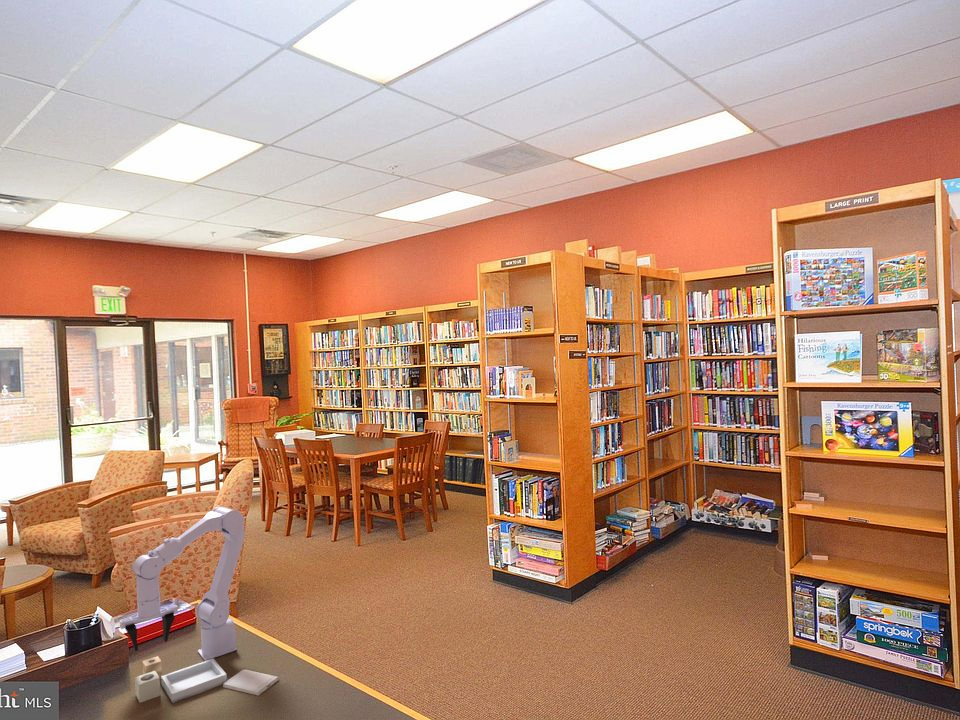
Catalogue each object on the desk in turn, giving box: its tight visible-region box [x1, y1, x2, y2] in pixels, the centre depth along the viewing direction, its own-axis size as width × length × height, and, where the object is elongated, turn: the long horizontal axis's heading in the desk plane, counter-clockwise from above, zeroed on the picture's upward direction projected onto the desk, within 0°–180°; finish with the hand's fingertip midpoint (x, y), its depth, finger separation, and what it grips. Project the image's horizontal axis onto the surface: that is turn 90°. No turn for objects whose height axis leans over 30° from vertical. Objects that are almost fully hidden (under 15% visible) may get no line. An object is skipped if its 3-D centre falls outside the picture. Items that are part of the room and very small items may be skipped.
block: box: [141, 655, 163, 680], centre depth 175 cm, size 4×4×5 cm
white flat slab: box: [222, 668, 280, 696], centre depth 170 cm, size 2×8×12 cm
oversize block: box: [134, 671, 161, 704], centre depth 166 cm, size 5×5×5 cm
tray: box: [160, 658, 228, 704], centre depth 171 cm, size 14×12×2 cm
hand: (150, 645), depth 175 cm, fingers open, 7 cm apart
